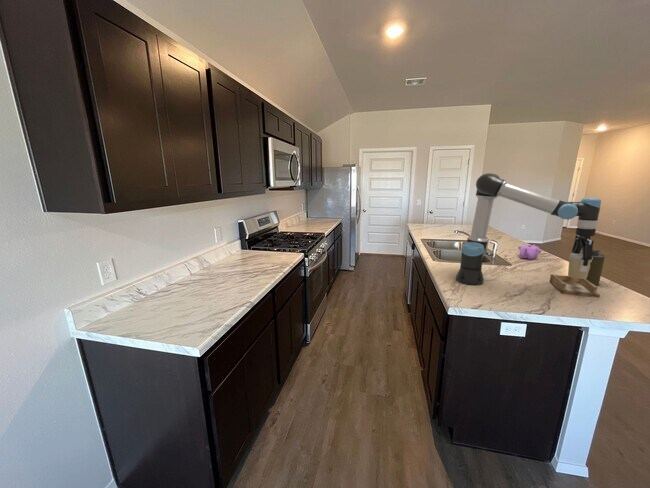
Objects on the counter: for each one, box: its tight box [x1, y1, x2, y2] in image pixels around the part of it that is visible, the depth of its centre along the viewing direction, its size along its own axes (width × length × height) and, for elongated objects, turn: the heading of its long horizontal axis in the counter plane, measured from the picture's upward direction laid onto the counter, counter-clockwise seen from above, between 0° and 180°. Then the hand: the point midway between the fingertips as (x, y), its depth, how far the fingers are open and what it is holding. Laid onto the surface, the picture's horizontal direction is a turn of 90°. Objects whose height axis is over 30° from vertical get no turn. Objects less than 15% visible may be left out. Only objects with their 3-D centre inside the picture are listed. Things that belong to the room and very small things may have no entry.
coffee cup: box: [567, 252, 593, 279], centre depth 150 cm, size 9×9×12 cm
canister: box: [580, 249, 606, 287], centre depth 162 cm, size 11×10×20 cm
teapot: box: [517, 244, 542, 261], centre depth 213 cm, size 15×13×11 cm
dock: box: [548, 274, 601, 298], centre depth 154 cm, size 16×18×5 cm
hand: (578, 268), depth 150 cm, fingers closed on coffee cup, 9 cm apart
